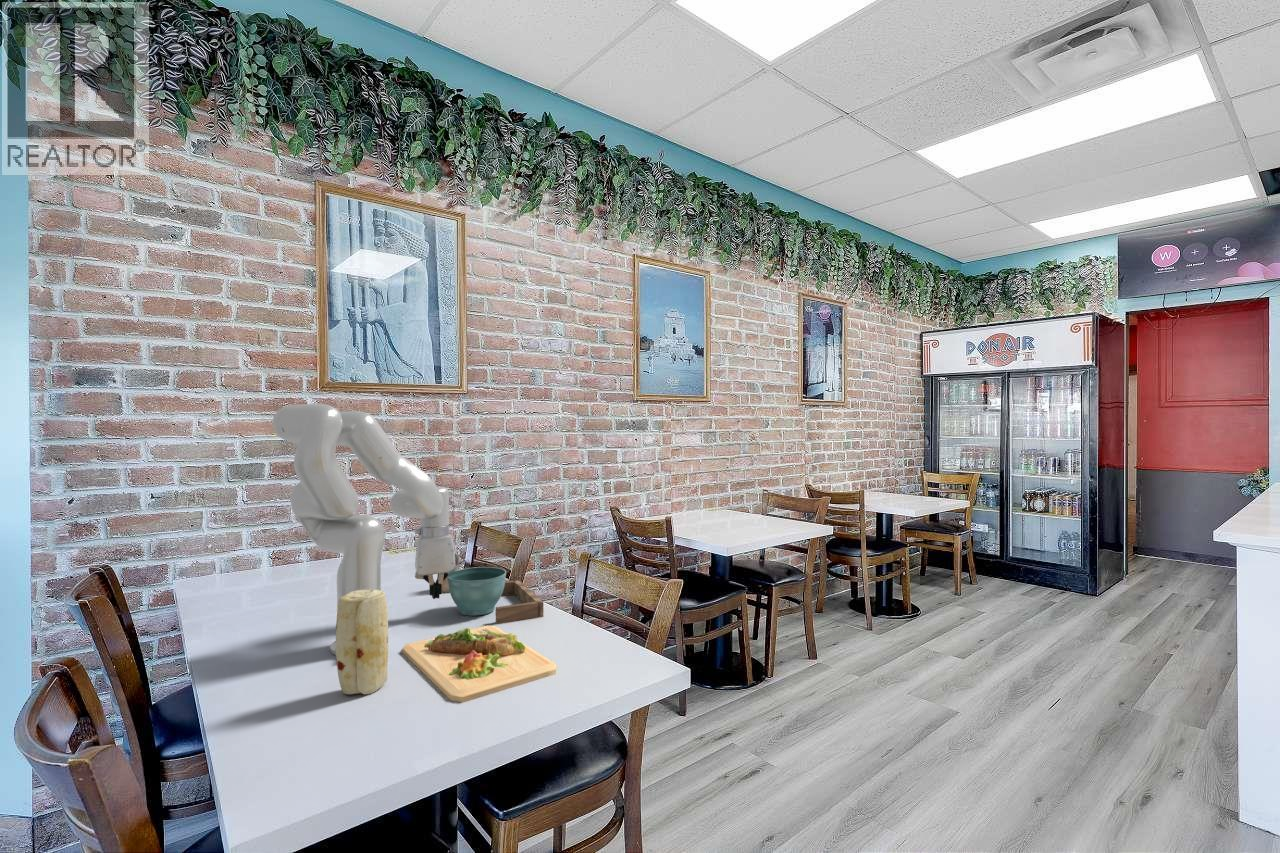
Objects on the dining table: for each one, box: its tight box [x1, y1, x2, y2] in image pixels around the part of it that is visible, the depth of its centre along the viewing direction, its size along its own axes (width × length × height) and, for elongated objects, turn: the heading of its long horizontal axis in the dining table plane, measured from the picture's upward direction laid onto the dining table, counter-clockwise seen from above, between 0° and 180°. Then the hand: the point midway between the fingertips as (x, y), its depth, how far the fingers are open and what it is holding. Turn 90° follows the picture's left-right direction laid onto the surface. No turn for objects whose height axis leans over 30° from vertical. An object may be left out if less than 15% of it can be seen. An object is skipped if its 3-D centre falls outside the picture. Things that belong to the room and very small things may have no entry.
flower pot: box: [447, 566, 507, 617], centre depth 168 cm, size 16×16×11 cm
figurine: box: [441, 552, 462, 594], centre depth 190 cm, size 7×7×12 cm
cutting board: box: [402, 625, 557, 703], centre depth 134 cm, size 35×23×8 cm
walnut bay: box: [495, 579, 544, 625], centre depth 172 cm, size 26×13×4 cm, turn 27°
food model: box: [335, 590, 389, 695], centre depth 119 cm, size 10×7×20 cm
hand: (435, 597), depth 164 cm, fingers closed
